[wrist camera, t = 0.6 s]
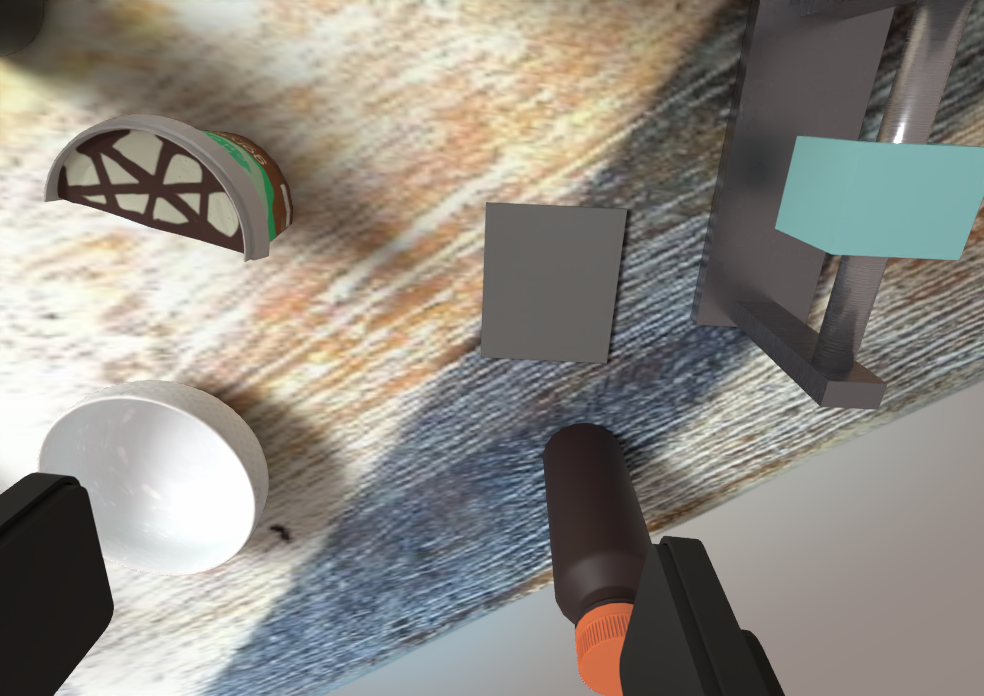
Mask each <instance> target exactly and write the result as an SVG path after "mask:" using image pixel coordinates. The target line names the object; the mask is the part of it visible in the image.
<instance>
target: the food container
mask: <svg viewBox="0 0 984 696" xmlns="http://www.w3.org/2000/svg"><path fill="white" fill-rule="evenodd" d="M63 199H64V200H67V201H70V202H72V203H77V204H82V205H85V206H89V207H92V208H95V209H99V210H102V211H105V212H108V213H111V214H114V215H117V216H120V217H123V218H126V219H129V220H131V221H134V222H137V223H140V224H142V225H145V226H148V227H151V228H155V229H159V230H162V231H166V232H170V233H175V234H178V235H182V236H186V237H190V238H193V239H197V240H201V241H204V242H207V243H211V244H214V245H218V246H221V247H224V248H228V249H231V250H234V251H238V252H241V253H244V262H246V261H248V260H250V259H252V260H257V259H261V258H264V257H267V256H269V243H270V242H271V241H272V240H273V239H274V238H276V237H277V236H278V235H279V234H280V233H281V232H283V231H284V230H285V229H286V228H287V227H288V226H290V225H291V224H292V214H293V206H292V201H291V196H290V191H289V186H288V184H287V182H286V180H285V178H284V176H283V175H282V173H281V171H280V169H279V167H278V165H277V164H276V163H275V162H274V161H273V160H272V159H271V158H270V157H269V155H268V154H267V153H266V152H265V151H264V150H263V149H262V148H260V147H259V146H257V145H256V144H254V143H253V142H251V141H250V140H248V139H246V138H244V137H241V136H239V135H236V134H232V133H227V132H216V131H202V130H197V129H196V128H194V127H192V126H190V125H188V124H185V123H183V122H180V121H178V120H175V119H172V118H167V117H163V116H159V115H150V114H133V115H123V116H120V117H116V118H113V119H110V120H107V121H104V122H102V123H100V124H97V125H95V126H93V127H91V128H89V129H87V130H85V131H83V132H82V133H80V134H79V135H77V136H76V137H75V138H74V139H73V140H72V141H70V142H69V143H68V144H67V146H66V147H65V148H64V149H63V150H62V151H61V152H60V154H59V155H58V156H57V158H56V159H55V160H54V163H53V165H52V167H51V169H50V171H49V173H48V177H47V181H46V185H45V191H44V202H48V201H56V200H63Z"/></svg>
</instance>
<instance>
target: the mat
mask: <svg viewBox="0 0 984 696" xmlns="http://www.w3.org/2000/svg"><path fill="white" fill-rule="evenodd" d="M626 215H627V209H621V208H599V207H577V206H554V205H532V204H510V203H488V202H486V222H485V251H484V280H483V309H482V339H481V357H489V358H510V359H530V360H550V361H571V362H591V363H607V357H608V350H609V342H610V335H611V327H612V320H613V312H614V305H615V297H616V290H617V282H618V275H619V267H620V260H621V252H622V245H623V237H624V230H625V222H626Z"/></svg>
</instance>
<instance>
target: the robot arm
mask: <svg viewBox="0 0 984 696" xmlns="http://www.w3.org/2000/svg"><path fill="white" fill-rule="evenodd" d="M113 610H114V604H113V599H112V595H111V590H110V586H109V582H108V577H107V573H106V568H105V564H104V560H103V555H102V551H101V547H100V542H99V538H98V533H97V529H96V525H95V520H94V516H93V511H92V507H91V503H90V498H89V494H88V491H87V489H86V488H85V487H83V486H81V485H80V482H79V480H78V479H77V478H76V477H73V476H69V475H59V474H49V473H39V472H36V473H31V474H29V475H27V476H25V477H24V478H22V479H21V480H20V481H18V482H17V483H16V484H14V485H13V486H11V487H10V488H9V489H7V490H6V491H5V492H3V493H2V494H1V495H0V696H53V695H54V694H55V693H56V692H57V690H58V689H59V688H60V687H61V685H62V684H63V683H64V682H65V680H66V679H67V678H68V676H69V675H70V674H71V673H72V671H73V670H74V669H75V668H76V666H77V665H78V664H79V663H80V661H81V660H82V659H83V658H84V656H85V655H86V654H87V653H88V651H89V650H90V649H91V647H92V646H93V645H94V644H95V642H96V641H97V640H98V639H99V637H100V636H101V635H102V634H103V632H104V631H105V630H106V628H107V627H108V625H109V623H110V621H111V618H112V615H113ZM619 674H620V683H621V688H622V693H623V696H785V695H784V693H783V690H782V688H781V686H780V684H779V682H778V680H777V677H776V675H775V673H774V671H773V669H772V667H771V665H770V662H769V660H768V658H767V656H766V654H765V652H764V650H763V648H762V646H761V644H760V642H759V641H758V639H757V637H756V636H755V635H754V634H753V633H752V632H750V631H748V630H741V629H740V627H739V625H738V622H737V620H736V618H735V616H734V614H733V611H732V609H731V606H730V604H729V602H728V600H727V597H726V595H725V593H724V591H723V588H722V586H721V584H720V582H719V579H718V577H717V575H716V572H715V570H714V568H713V566H712V563H711V561H710V559H709V557H708V555H707V552H706V550H705V548H704V546H703V544H702V542H701V541H700V540H698V539H690V538H681V537H671V536H663V538H662V539H661V541H660V543H659V544H651V545H650V546H649V549H648V552H647V556H646V560H645V564H644V567H643V571H642V575H641V579H640V583H639V586H638V590H637V594H636V598H635V602H634V605H633V609H632V613H631V617H630V621H629V624H628V628H627V632H626V636H625V640H624V643H623V647H622V651H621V655H620V662H619Z"/></svg>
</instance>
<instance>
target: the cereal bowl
mask: <svg viewBox="0 0 984 696" xmlns="http://www.w3.org/2000/svg"><path fill="white" fill-rule="evenodd" d="M37 472H39V473H49V474H59V475H69V476H73V477H76V478H77V479H78V480H79V482H80V485H81V486H83V487H85V488H86V489H87V491H88V494H89V498H90V503H91V507H92V511H93V516H94V520H95V525H96V529H97V533H98V538H99V542H100V547H101V551H102V555H103V558H105V559H107V560H109V561H112V562H114V563H116V564H119V565H121V566H124V567H127V568H130V569H133V570H136V571H140V572H145V573H150V574H156V575H164V576H183V575H191V574H196V573H201V572H205V571H208V570H211V569H213V568H216V567H218V566H220V565H222V564H224V563H225V562H227V561H229V560H230V559H231V558H233V557H234V556H235V555H236V554H237V553H238V552H239V551H240V550H241V549H242V548H243V547H244V546H245V545H246V543H247V541H248V540H249V539H250V537H251V536H252V533H253V532H254V531H255V528H256V526H257V524H258V523H259V520H260V517H261V516H262V514H263V510H264V507H265V505H266V499H267V497H268V489H269V476H268V469H267V463H266V460H265V456H264V453H263V450H262V447H261V445H260V444H259V441H258V439H257V437H256V436H255V434H254V433H253V431H252V430H251V429H250V428H249V426H248V424H246V422H245V421H244V420H243V419H242V418H241V416H239V415H238V414H237V413H236V412H234V410H233V409H232V408H230V407H229V406H228V405H226V404H224V403H223V402H222V401H220V400H219V399H218V398H215V397H214V396H213V395H210V394H208V393H207V392H204V391H202V390H198V389H196V388H193V387H190V386H187V385H183V384H179V383H174V382H168V381H154V380H145V381H134V382H125V383H122V384H116V385H114V386H112V387H107V388H105V389H103V390H101V391H98V392H95V393H93V394H92V395H90V396H88V397H85V398H84V399H83V400H81V401H79V402H77V403H76V404H75V405H73V406H72V407H70V408H69V409H67V410H66V411H65V412H63V413H62V414H61V415H60V416H59V417H58V418H57V419H56V420H55V421H54V422H53V423H52V424H51V426H50V427H49V428H48V430H47V432H46V433H45V435H44V437H43V440H42V442H41V445H40V449H39V452H38V458H37Z"/></svg>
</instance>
